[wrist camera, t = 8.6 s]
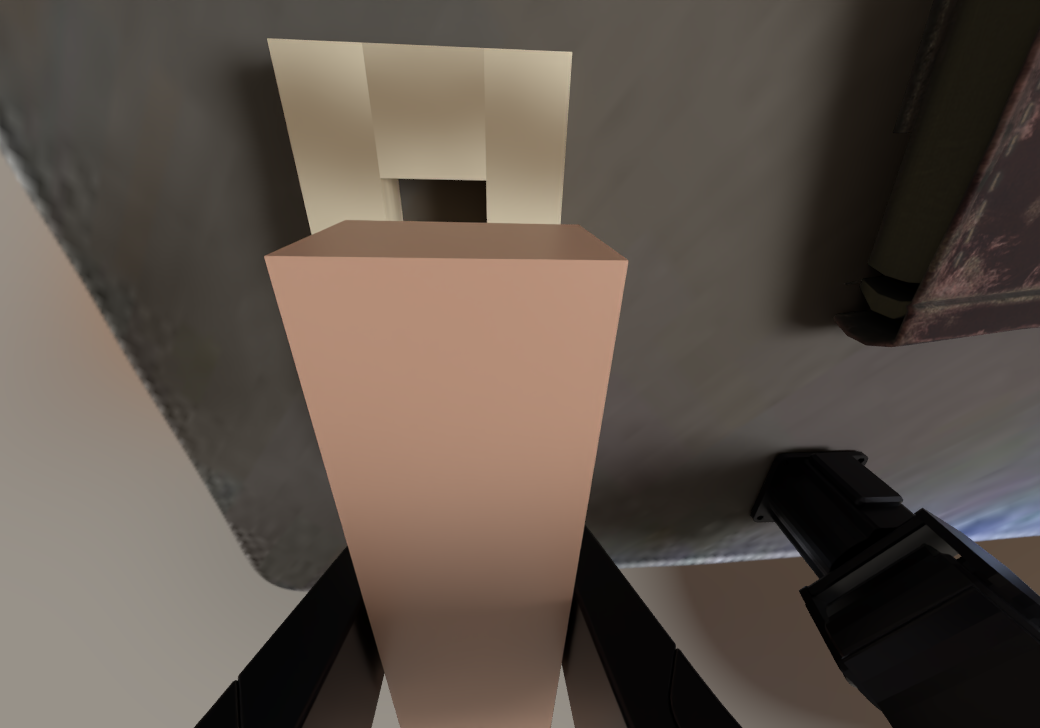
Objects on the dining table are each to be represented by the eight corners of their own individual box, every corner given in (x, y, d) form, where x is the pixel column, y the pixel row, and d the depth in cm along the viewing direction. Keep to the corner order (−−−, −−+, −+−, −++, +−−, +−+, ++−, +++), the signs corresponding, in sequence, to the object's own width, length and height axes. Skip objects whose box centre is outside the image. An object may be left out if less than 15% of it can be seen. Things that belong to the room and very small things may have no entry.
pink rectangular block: (525, 568, 13) (543, 768, 9) (439, 573, 13) (416, 780, 9) (547, 201, 8) (628, 259, 3) (395, 197, 7) (264, 256, 3)
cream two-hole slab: (537, 448, 25) (542, 482, 22) (382, 452, 24) (369, 487, 22) (558, 70, 15) (572, 52, 13) (307, 60, 15) (266, 38, 12)
